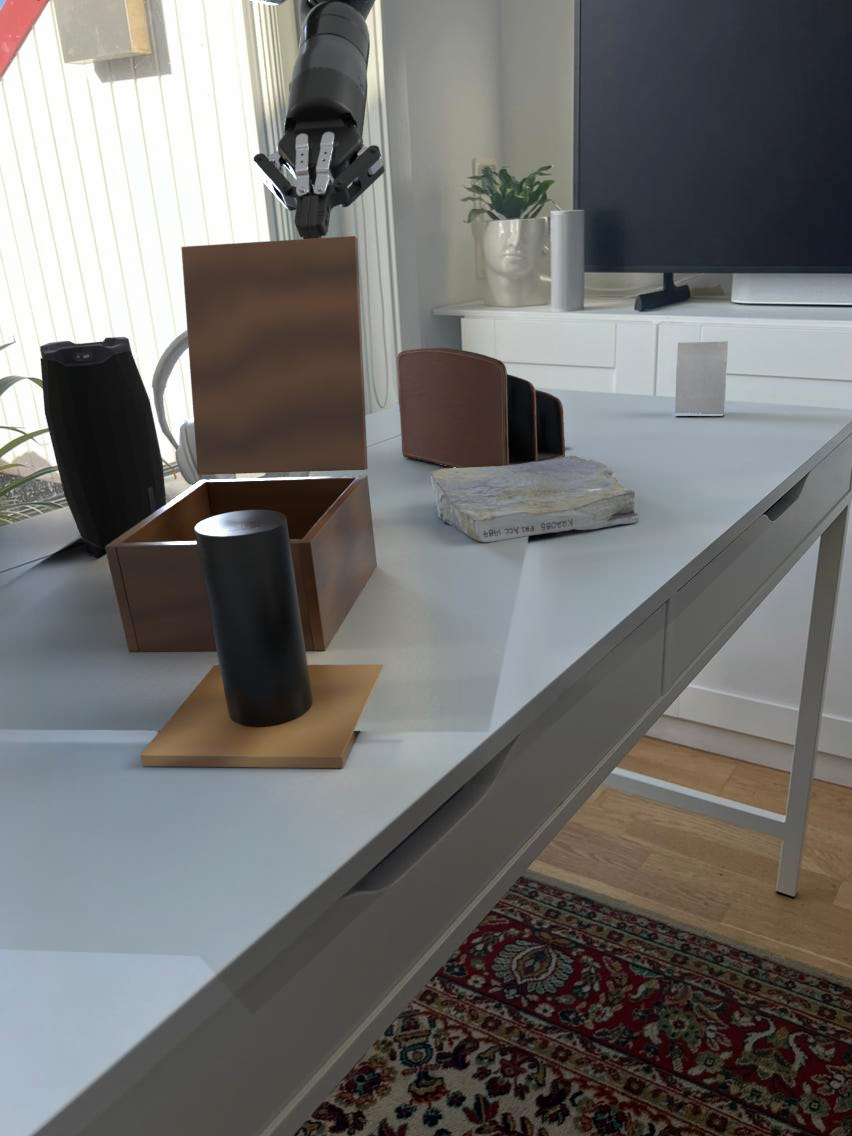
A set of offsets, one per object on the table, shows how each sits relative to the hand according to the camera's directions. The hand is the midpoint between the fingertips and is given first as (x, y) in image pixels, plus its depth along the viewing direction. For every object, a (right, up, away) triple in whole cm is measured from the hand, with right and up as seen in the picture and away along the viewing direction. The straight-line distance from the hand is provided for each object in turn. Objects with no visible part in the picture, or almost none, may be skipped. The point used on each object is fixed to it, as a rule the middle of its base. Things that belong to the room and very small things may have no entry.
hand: (309, 235), depth 89 cm
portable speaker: (-19, -28, +6) cm, 35 cm away
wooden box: (-1, -35, -13) cm, 38 cm away
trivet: (+3, -42, -29) cm, 51 cm away
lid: (-1, -14, -10) cm, 18 cm away
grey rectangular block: (+47, -5, +49) cm, 68 cm away
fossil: (+21, -25, +9) cm, 34 cm away
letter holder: (+16, -15, +30) cm, 38 cm away
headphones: (-9, -22, +20) cm, 31 cm away
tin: (+3, -42, -29) cm, 51 cm away
